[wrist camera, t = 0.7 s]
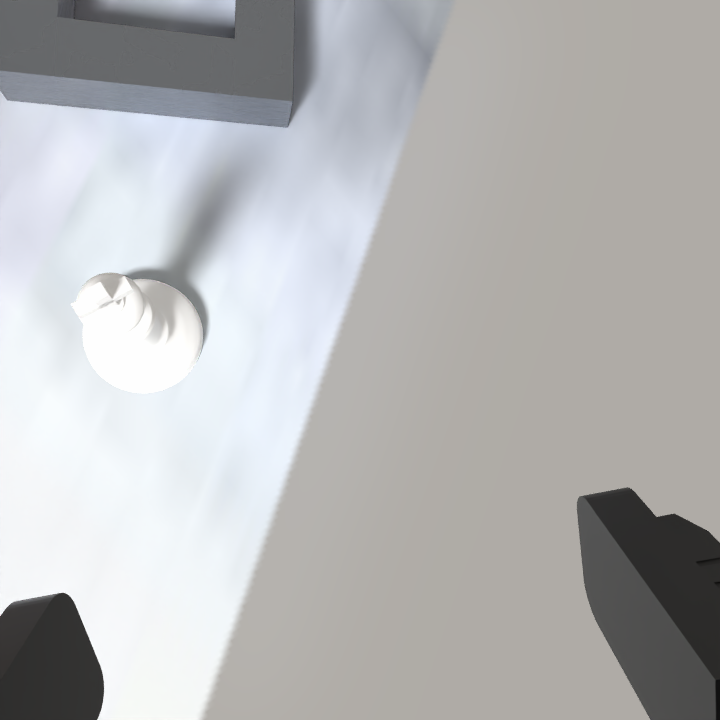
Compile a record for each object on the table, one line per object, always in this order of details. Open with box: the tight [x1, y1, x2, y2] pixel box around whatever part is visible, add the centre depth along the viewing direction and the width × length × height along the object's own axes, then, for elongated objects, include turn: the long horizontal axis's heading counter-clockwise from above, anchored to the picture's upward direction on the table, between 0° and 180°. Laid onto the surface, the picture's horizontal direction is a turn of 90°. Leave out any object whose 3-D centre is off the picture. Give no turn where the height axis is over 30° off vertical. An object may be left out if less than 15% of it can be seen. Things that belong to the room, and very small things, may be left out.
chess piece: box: [71, 273, 203, 393], centre depth 23 cm, size 5×5×10 cm
